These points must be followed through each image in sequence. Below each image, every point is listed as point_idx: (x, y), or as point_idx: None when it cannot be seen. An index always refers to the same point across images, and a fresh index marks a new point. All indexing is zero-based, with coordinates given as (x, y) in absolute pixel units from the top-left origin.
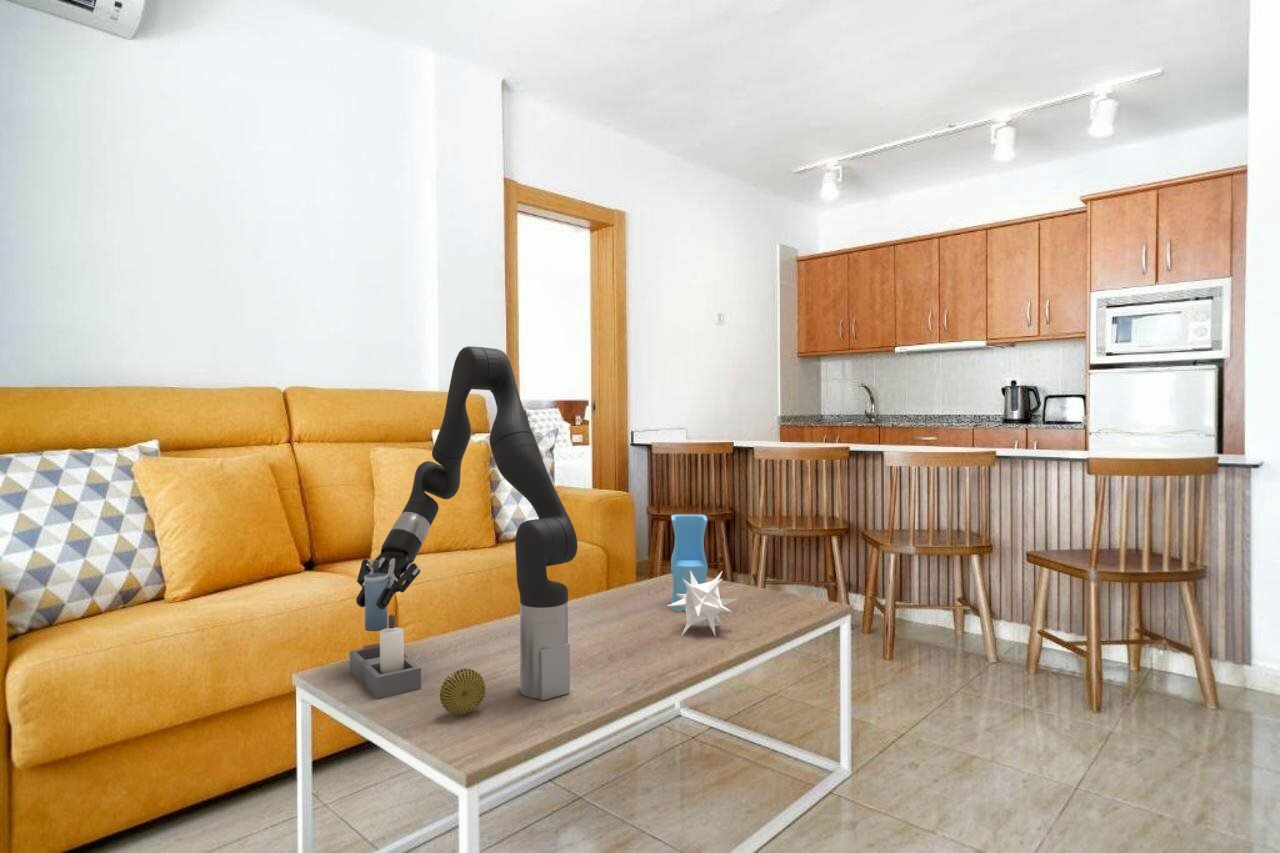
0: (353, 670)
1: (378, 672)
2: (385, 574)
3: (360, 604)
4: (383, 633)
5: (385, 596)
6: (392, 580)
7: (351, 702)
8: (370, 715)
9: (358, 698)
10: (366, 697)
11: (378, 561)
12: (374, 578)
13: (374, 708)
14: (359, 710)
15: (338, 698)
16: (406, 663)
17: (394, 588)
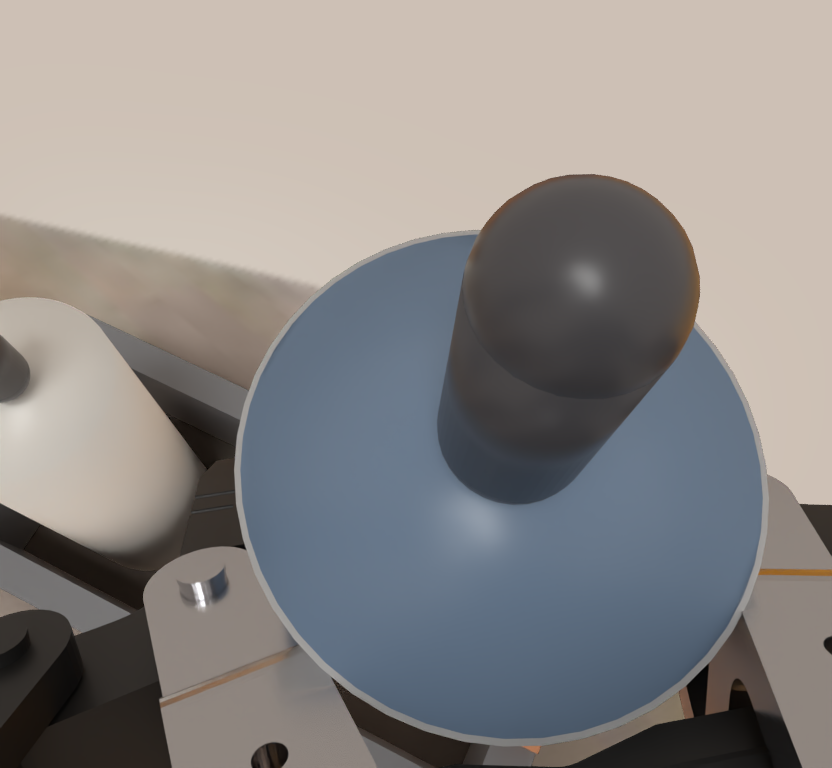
0: None
1: None
2: (362, 629)
3: None
4: (33, 304)
5: (224, 510)
6: (163, 667)
7: (205, 289)
8: (23, 234)
9: (209, 331)
10: (181, 354)
11: (500, 307)
12: (341, 285)
13: (55, 287)
14: (106, 248)
15: (296, 294)
16: (88, 590)
17: (104, 625)
